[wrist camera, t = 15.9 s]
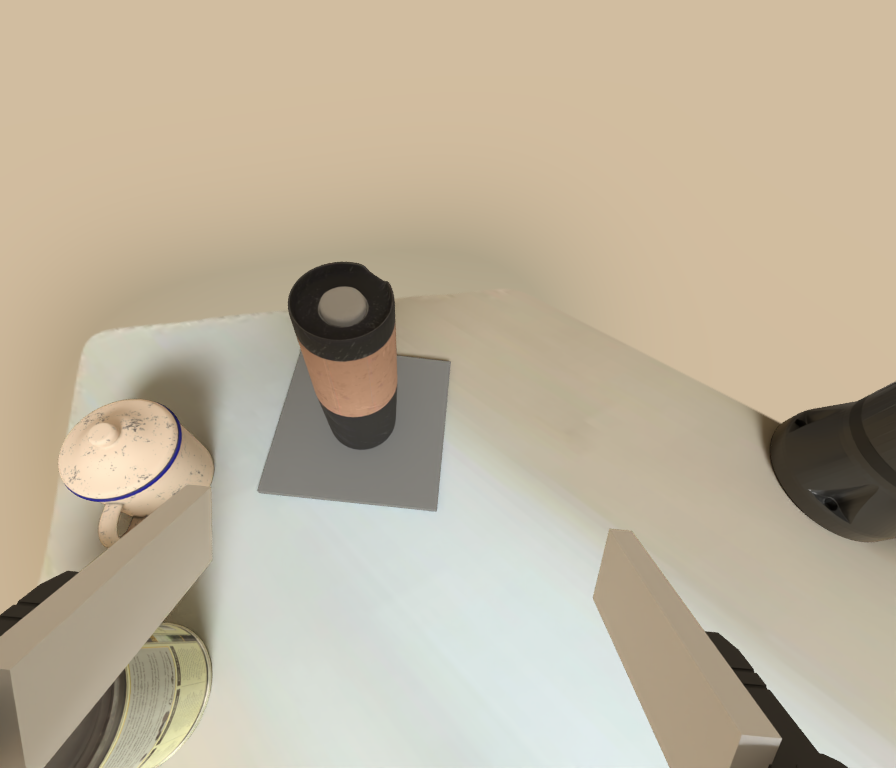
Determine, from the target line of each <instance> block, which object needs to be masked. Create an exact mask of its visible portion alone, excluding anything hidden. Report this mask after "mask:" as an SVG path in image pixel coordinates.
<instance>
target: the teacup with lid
mask: <svg viewBox="0 0 896 768" xmlns="http://www.w3.org/2000/svg"><path fill="white" fill-rule="evenodd" d="M58 466H59V473H60V476H61V478H62V480H63V482H64V484H65V485H66V487H67V488H68V489H69V490H70V491H71V492H72V493H74V494H75V495H77V496H79V497H81V498H83V499H86V500H90V501H96V502H101V503H103V504H105V507H104V510H103V512H102V515H101V518H100V521H99V527H98V534H99V539H100V541H101V543H102V544H103V545H104V546H106V547H108V548H110V547H111V546H112V545H113V544H115V543H116V542H117V541H118V540H119V539H121V538H122V537H123V536H124V535H126V534H127V533H128V532H129V531H130V530H132V529H133V528H134V527H135V526H137V525H138V524H139V523H140V522H142V521H143V520H144V519H145V518H146V517H148V516H149V515H150V514H151V513H153V512H154V511H155V510H156V509H158V508H159V507H160V506H161V505H162V504H164V503H165V502H166V501H167V500H169V499H170V498H171V497H172V496H173V495H175V494H176V493H177V492H178V491H180V490H181V489H182V488H183V487H185V486H186V485H187V484H189V485H198V486H208V487H210V484H211V481H212V478H213V472H214V465H213V460H212V457H211V455H210V453H209V452H208V450H207V449H206V448H205V447H204V446H203V445H202V444H201V443H200V442H199V441H198V440H197V439H196V438H195V437H194V436H193V435H192V434H191V433H190V432H188V431H187V430H186V429H185V428H184V427H183V426H182V425H181V424H180V423H179V421H178V419H177V417H176V416H175V414H174V413H173V412H172V411H171V410H170V409H168V408H167V407H165V406H164V405H162V404H160V403H157V402H153V401H149V400H144V399H128V400H121V401H117V402H113V403H110V404H107V405H105V406H103V407H100V408H98V409H97V410H95V411H93V412H91V413H90V414H88V415H87V416H86V417H84V418H83V419H82V420H81V421H80V422H79V423H78V424H77V425H76V426H75V427H74V428H73V429H72V430H71V431H70V433H69V434H68V435H67V437H66V439H65V440H64V442H63V444H62V447H61V450H60V453H59V459H58ZM121 512H123V513H125V514H128V515H130V516H132V517H133V518H132V521H131V523H130V525H129V527H128V529H127V531H126V532H125V533H124V534H123V535H122V536H121V537H120V538H119V537H118V534H117V522H118V518H119V515H120V513H121Z"/></svg>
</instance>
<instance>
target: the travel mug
mask: <svg viewBox="0 0 896 768" xmlns="http://www.w3.org/2000/svg"><path fill="white" fill-rule="evenodd" d="M288 310H289V315H290V318H291V321H292V324H293V327H294V330H295V333H296V336H297V339H298V342H299V345H300V348H301V351H302V354H303V357H304V360H305V363H306V366H307V369H308V372H309V375H310V378H311V381H312V384H313V387H314V390H315V393H316V395H317V398H318V400H319V403H320V405H321V407H322V410H323V412H324V414H325V417H326V419H327V421H328V424H329V426H330V428H331V430H332V432H333V434H334V436H335V437H336V439H337V440H338V441H339V442H340V443H342V444H343V445H345V446H347V447H349V448H352V449H357V450H366V449H371V448H374V447H377V446H379V445H380V444H382V443H383V442H385V441H386V440H387V439H388V437H389V436H390V435H391V433H392V431H393V429H394V426H395V421H396V405H397V354H396V327H395V301H394V295H393V291H392V288H391V285H390V284H389V282H387V281H383V280H381V279H380V278H378V277H377V276H375V275H374V274H372V273H371V272H370V271H369V270H368V269H367V268H366V267H365V266H364V265H362V264H359V263H353V262H334V263H328V264H324V265H321V266H319V267H316V268H314V269H312V270H310V271H308V272H307V273H305V274H304V275H303V276H302V277H300V278H299V279H298V281H297V282H296V283H295V284H294V286H293V288H292V289H291V292H290V295H289V298H288Z"/></svg>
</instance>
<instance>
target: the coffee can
mask: <svg viewBox="0 0 896 768" xmlns="http://www.w3.org/2000/svg"><path fill="white" fill-rule="evenodd" d="M211 681H212V672H211V661H210V658H209V654H208V652H207V649H206V647H205V645H204V643H203V642H202V640H201V639H200V638H199V637H198V636H197V635H196V634H195V633H194V632H193V631H191V630H190V629H188V628H187V627H184V626H181V625H177V624H172V623H161V624H160V626H159V627H158V628H157V629H156V630H155V632H154V633H153V634H152V635H151V637H150V638H149V639H148V640H147V641H146V643H145V644H144V645H143V646H142V648H141V649H140V650H139V651H138V653H137V654H136V655H135V656H134V657H133V659H132V660H131V661H130V662H129V664H128V665H127V666H126V667H125V669H124V670H123V671H122V672H121V673H120V675H119V676H118V677H117V678H116V680H115V681H114V682H113V683H112V685H111V686H110V687H109V688H108V689H107V691H106V692H105V693H104V694H103V696H102V697H101V698H100V699H99V700H98V702H97V703H96V704H95V705H94V707H93V708H92V709H91V710H90V712H89V713H88V714H87V715H86V716H85V718H84V719H83V720H82V721H81V723H80V724H79V725H78V726H77V728H76V729H75V730H74V731H73V732H72V734H71V735H70V736H69V737H68V739H67V740H66V741H65V742H64V743H63V745H62V746H61V747H60V748H59V750H58V751H57V752H56V753H55V755H54V756H53V757H52V758H51V759H50V761H49V762H48V763H47V764H46V766H45V767H44V768H156V767H158V766H159V765H161V764H162V763H164V762H165V761H166V760H168V759H169V758H170V757H171V756H172V755H173V754H174V753H176V752H177V751H178V750H179V749H180V748H181V746H182V745H183V744H184V743H185V742H186V741H187V739H188V738H189V737H190V735H191V734H192V733H193V731H194V730H195V728H196V727H197V725H198V723H199V721H200V719H201V717H202V715H203V712H204V710H205V708H206V705H207V702H208V698H209V694H210V689H211Z"/></svg>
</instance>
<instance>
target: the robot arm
mask: <svg viewBox="0 0 896 768" xmlns="http://www.w3.org/2000/svg"><path fill="white" fill-rule="evenodd" d="M771 459H772V464H773V467H774V470H775V473H776V475H777V477H778V479H779V481H780V483H781V485H782V487H783V488H784V490H785V491H786V493H787V494H788V495H789V497H790V498H791V499H792V500H793V502H794V503H795V504H796V505H797V506H798V507H799V508H800V509H801V510H802V511H803V512H804V513H805V514H806V515H807V516H809V517H810V518H811V519H812V520H814V521H815V522H816V523H818V524H819V525H821V526H822V527H824V528H825V529H827V530H829V531H831V532H833V533H835V534H837V535H839V536H842V537H844V538H847V539H851V540H855V541H860V542H878V541H882V540H887V539H892V538H896V382H894V383H892V384H890V385H888V386H886V387H884V388H882V389H880V390H878V391H876V392H874V393H872V394H871V395H868V396H867V397H865V398H863V399H861V400H859V401H856V402H850V403H845V404H839V405H833V406H827V407H822V408H817V409H811V410H807V411H804V412H801V413H799V414H797V415H796V416H793V417H792V418H790V419H788V420H787V421H785V422H783V423H782V424H781V425H780V426H779V427H778V428H777V429H776V431H775V432H774V434H773V437H772V441H771ZM211 562H212V505H211V487H208V486H198V485H189V484H187V485H186V486H185V487H183V488H182V489H181V490H180V491H178V492H177V493H176V494H175V495H173V496H172V497H171V498H170V499H169V500H167V501H166V502H165V503H164V504H162V505H161V506H160V507H159V508H158V509H156V510H155V511H154V512H153V513H151V514H150V515H149V516H148V517H146V518H145V519H144V520H143V521H142V522H140V523H139V524H138V525H137V526H135V527H134V528H133V529H132V530H130V531H129V532H128V533H127V534H126V535H124V536H123V537H122V538H121V539H119V540H118V541H117V542H116V543H115V544H113V545H112V546H111V547H110V548H108V549H107V550H106V551H105V552H103V553H102V554H101V555H100V556H99V557H97V558H96V559H95V560H94V561H92V562H91V563H90V564H89V565H88V566H86V567H85V568H84V569H83V570H81V571H80V572H73V571H66V572H64V573H62V574H60V575H58V576H56V577H54V578H52V579H50V580H48V581H46V582H44V583H42V584H40V585H39V586H37V587H36V588H35V589H33V590H32V591H31V592H30V593H28V594H27V595H26V596H25V597H23V598H22V599H21V600H19V601H18V603H17V605H13V606H11V607H10V608H9V609H7V610H6V611H5V612H4V613H2V614H1V615H0V768H44V767H45V766H46V764H47V763H48V762H49V761H50V759H51V758H52V757H53V756H54V755H55V753H56V752H57V751H58V750H59V748H60V747H61V746H62V745H63V743H64V742H65V741H66V740H67V739H68V737H69V736H70V735H71V734H72V732H73V731H74V730H75V729H76V728H77V726H78V725H79V724H80V723H81V721H82V720H83V719H84V718H85V716H86V715H87V714H88V713H89V712H90V710H91V709H92V708H93V707H94V705H95V704H96V703H97V702H98V700H99V699H100V698H101V697H102V696H103V694H104V693H105V692H106V691H107V689H108V688H109V687H110V686H111V685H112V683H113V682H114V681H115V680H116V678H117V677H118V676H119V675H120V673H121V672H122V671H123V670H124V669H125V667H126V666H127V665H128V664H129V662H130V661H131V660H132V659H133V657H134V656H135V655H136V654H137V653H138V651H139V650H140V649H141V648H142V646H143V645H144V644H145V643H146V641H147V640H148V639H149V638H150V637H151V635H152V634H153V633H154V632H155V630H156V629H157V628H158V627H159V626H160V624H161V623H162V622H163V621H164V619H165V618H166V617H167V616H168V614H169V613H170V612H171V611H172V610H173V608H174V607H175V606H176V605H177V603H178V602H179V601H180V600H181V598H182V597H183V596H184V595H185V594H186V592H187V591H188V590H189V589H190V587H191V586H192V585H193V584H194V583H195V581H196V580H197V579H198V578H199V576H200V575H201V574H202V573H203V571H204V570H205V569H206V568H207V567H208V565H209V564H210V563H211ZM593 600H594V602H595V604H596V606H597V608H598V611H599V613H600V615H601V617H602V620H603V622H604V624H605V626H606V628H607V631H608V633H609V635H610V637H611V639H612V642H613V644H614V646H615V648H616V650H617V653H618V655H619V657H620V659H621V661H622V664H623V666H624V668H625V670H626V672H627V675H628V677H629V679H630V681H631V684H632V686H633V688H634V690H635V692H636V695H637V697H638V699H639V701H640V703H641V706H642V708H643V710H644V712H645V714H646V717H647V719H648V721H649V723H650V725H651V728H652V730H653V732H654V734H655V736H656V739H657V741H658V743H659V745H660V747H661V750H662V752H663V754H664V756H665V759H666V761H667V763H668V765H669V767H670V768H848V767H846V766H845V765H844V764H842V763H841V762H839V761H837V760H835V759H833V758H831V757H829V756H826V755H824V754H820V753H819V752H818V751H817V750H816V749H815V747H814V746H813V745H812V744H811V742H810V741H809V740H808V738H807V737H806V736H805V735H804V733H803V732H802V731H801V729H800V728H799V727H798V726H797V724H796V723H795V722H794V720H793V719H792V718H791V717H790V715H789V714H788V713H787V711H786V710H785V709H784V708H783V706H782V705H781V704H780V702H779V701H778V700H777V699H776V697H775V696H774V695H773V693H772V692H771V691H770V690H767V688H766V684H765V683H764V682H763V681H762V679H761V678H760V677H759V675H758V674H757V673H754V669H753V668H752V666H751V665H750V664H749V663H748V661H747V660H746V659H745V657H744V656H743V655H742V654H741V652H740V651H739V650H738V649H737V648H736V647H735V646H733V645H732V644H731V643H730V642H729V641H727V640H726V639H725V638H724V637H723V636H721V635H720V634H719V633H716V632H705V631H704V630H703V629H702V627H701V626H700V624H699V623H698V622H697V620H696V619H695V617H694V616H693V615H692V613H691V612H690V611H689V609H688V608H687V606H686V605H685V604H684V602H683V601H682V599H681V598H680V597H679V595H678V594H677V593H676V591H675V590H674V588H673V587H672V586H671V584H670V583H669V582H668V580H667V579H666V577H665V576H664V575H663V573H662V572H661V570H660V569H659V568H658V566H657V565H656V564H655V562H654V561H653V559H652V558H651V557H650V555H649V554H648V552H647V551H646V550H645V548H644V547H643V546H642V544H641V543H640V541H639V540H638V539H637V537H636V536H635V535H634V533H633V532H632V531H628V530H618V529H609V533H608V537H607V541H606V545H605V549H604V553H603V558H602V562H601V566H600V570H599V574H598V578H597V583H596V587H595V591H594V595H593Z"/></svg>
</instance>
